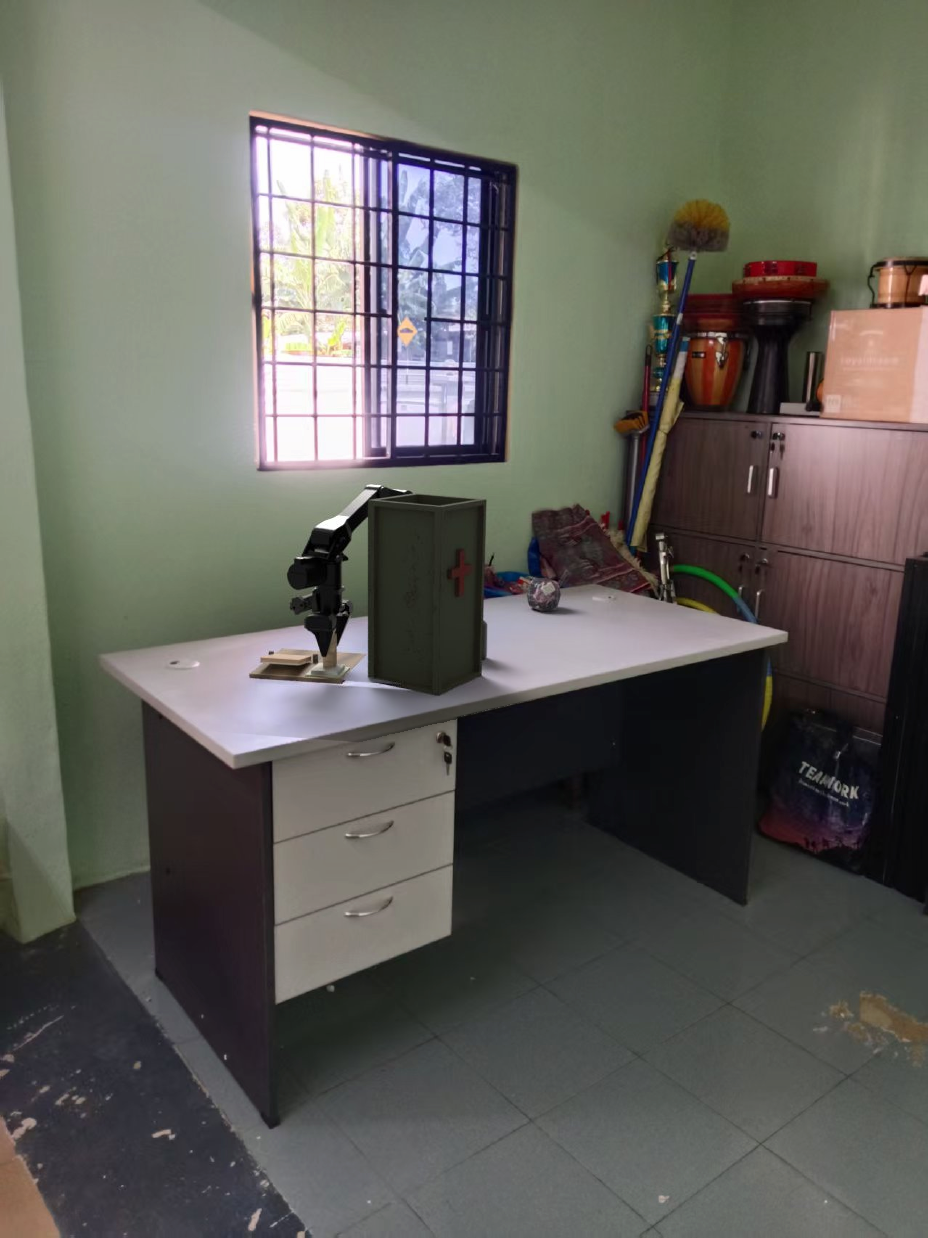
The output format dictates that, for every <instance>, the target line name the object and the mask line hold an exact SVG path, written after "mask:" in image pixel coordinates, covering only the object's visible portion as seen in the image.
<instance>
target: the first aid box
mask: <svg viewBox="0 0 928 1238" xmlns="http://www.w3.org/2000/svg"><path fill="white" fill-rule="evenodd" d="M487 501H488V500H487V499H486V498H474V497H462V496H461V497H460V496H451V495H439V494H430V493H419V492H417V493H413V494H407V495H400V496H393V497H386V498H379V499H372V500H368V517H367V677H368V678H371V679H377V680H381V681H385V682H377V681H373V683H374V684H379V685H385V686H389V687H393V688H399V689H402V690H403V689H404V690H408V691H413V692H417V693H418V692H419V693H423V694H427V695H431V696H432V695H433V696H438V697H439V696H441V695H443V694H445V693H448V692H450V691H452V690H454V689H456V688H458V687H460V686H463V685H464V684H467V683H469V682H470V681H473V680H475V679H477V678H479V677H481V676H482V675H483V674H482V673H483V660H482V647H483V620H484V618H483V615H484V607H485V606H484V604H485V602H484V601H485V574H486V573H485V567H486V566H485V565H486V564H485V563H486V532H487V531H486V529H487ZM389 682H390V683H389Z"/></svg>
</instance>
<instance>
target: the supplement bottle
mask: <svg viewBox="0 0 928 1238" xmlns="http://www.w3.org/2000/svg"><path fill="white" fill-rule="evenodd" d="M484 617H485V616H484V614H483V647H482V661H485V660H486V659H487V657H488V623H487V622H486V620H484Z"/></svg>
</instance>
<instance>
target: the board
mask: <svg viewBox="0 0 928 1238" xmlns="http://www.w3.org/2000/svg"><path fill="white" fill-rule="evenodd" d="M271 654H287V655H303V656H311V661H310V662H307V663H304V664H302V665H286V664H271V663H260V665H259V666H258V667H256V668H255V669H253V670H252V671H251V672H250V673H248V675H249V679H258V680H272V681H273V680H275V681H286V682H287V681H289V682H290V681H291V682H304V683H316V684H318V683H319V684H320V683H321V684H332V685H333V684H335V685H342V684H344V682H346V680H345V679H344V678H345V677H346V676H347V675H348V674H349V673H350V672H351V671H352V670H353V669H354V668H355V667H356V665H358V663H359V662H360V661H361V660H362V659H364V657H365V656H366V655H367V653H359V652H358V653H357V652H347V651H346V652H345V651H344V652H343V651H337V664H343V665H345V668H344V669H343V670H342V671H341V672H340V673H339V674H338V675H323V674H311V670H312V669H313V668H314V667H315V666H316V665H317V664H318V663H323V657H322V656H321V653H320V650H314V649H313V650H312V649H295V648H281V649H279V650H278V651H276V652H274V650H268V655H271Z"/></svg>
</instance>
